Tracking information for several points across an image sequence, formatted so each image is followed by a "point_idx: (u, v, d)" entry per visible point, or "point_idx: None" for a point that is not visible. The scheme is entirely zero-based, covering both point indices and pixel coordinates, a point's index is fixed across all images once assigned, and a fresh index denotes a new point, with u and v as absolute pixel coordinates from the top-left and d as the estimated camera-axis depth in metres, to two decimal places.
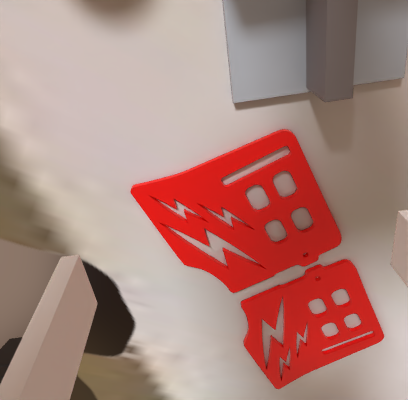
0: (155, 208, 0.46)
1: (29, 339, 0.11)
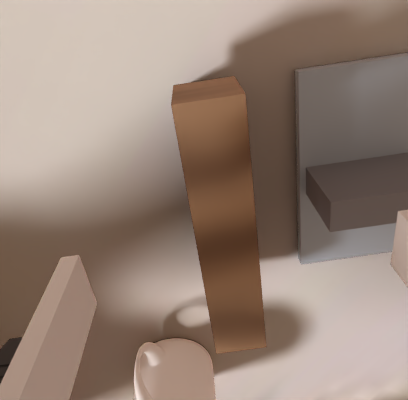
0: None
1: (29, 339, 0.11)
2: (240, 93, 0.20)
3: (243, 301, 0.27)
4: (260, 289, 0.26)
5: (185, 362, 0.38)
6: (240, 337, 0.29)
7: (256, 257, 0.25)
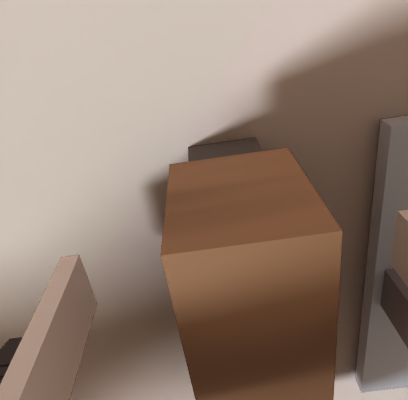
0: None
1: (29, 339, 0.11)
2: (328, 225, 0.08)
3: None
4: None
5: None
6: None
7: None
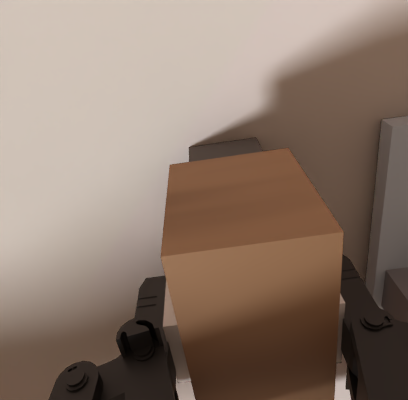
0: None
1: None
2: (329, 226, 0.08)
3: None
4: None
5: None
6: None
7: None
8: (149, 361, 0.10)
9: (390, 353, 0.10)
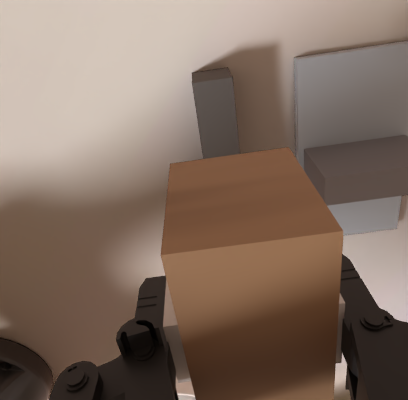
0: None
1: None
2: (329, 225, 0.08)
3: None
4: None
5: None
6: None
7: None
8: (149, 361, 0.10)
9: (390, 353, 0.10)
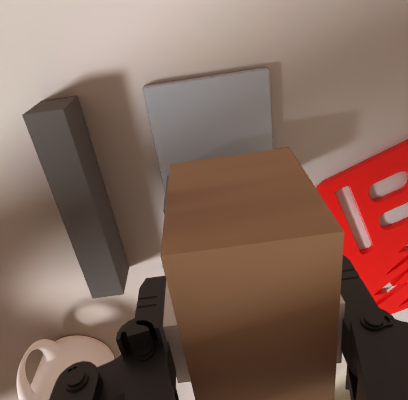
0: None
1: None
2: (330, 226, 0.08)
3: None
4: None
5: (78, 358, 0.40)
6: None
7: None
8: (149, 361, 0.10)
9: (390, 353, 0.10)
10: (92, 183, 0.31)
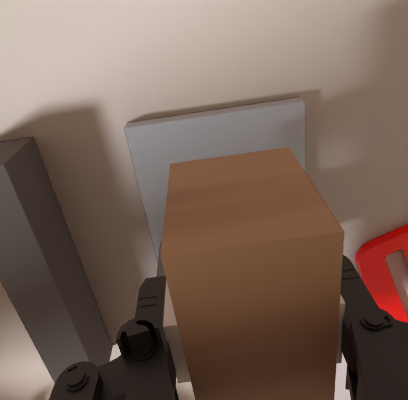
0: None
1: None
2: (329, 226, 0.08)
3: None
4: None
5: None
6: None
7: None
8: (149, 361, 0.10)
9: (390, 353, 0.10)
10: (55, 257, 0.22)
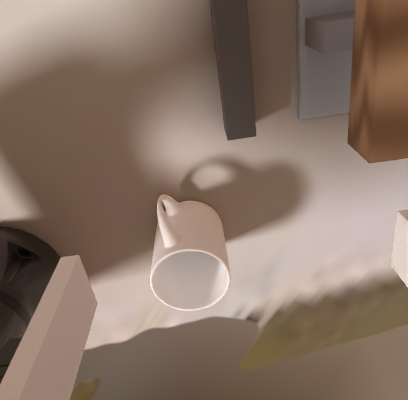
0: None
1: (29, 339, 0.11)
2: None
3: (407, 99, 0.30)
4: None
5: (199, 213, 0.44)
6: (395, 143, 0.31)
7: None
8: None
9: None
10: None
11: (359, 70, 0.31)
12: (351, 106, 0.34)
